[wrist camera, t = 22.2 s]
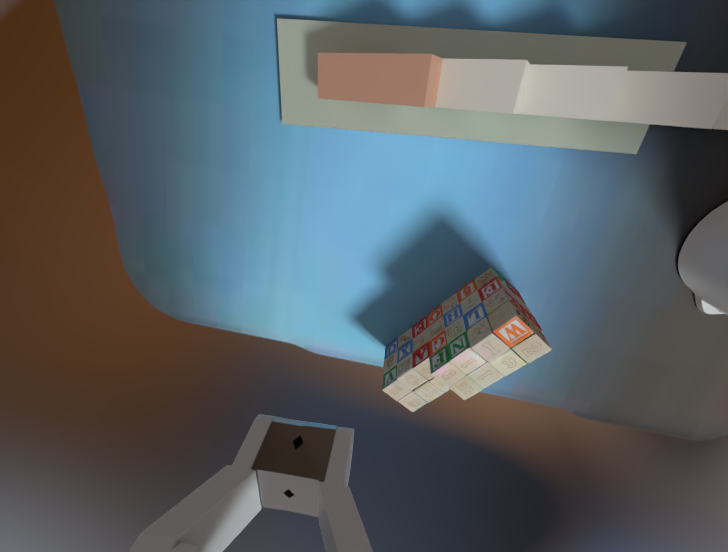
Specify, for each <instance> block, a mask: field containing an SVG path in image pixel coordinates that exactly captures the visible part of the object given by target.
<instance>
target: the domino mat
mask: <svg viewBox="0 0 728 552" xmlns="http://www.w3.org/2000/svg"><path fill="white" fill-rule="evenodd" d="M277 30H278V50H279V70H280V90H281V110H282V124H288V125H300V126H312V127H323V128H335V129H347V130H359V131H370V132H382V133H394V134H406V135H417V136H429V137H441V138H453V139H464V140H476V141H488V142H500V143H511V144H523V145H535V146H547V147H558V148H570V149H582V150H594V151H605V152H617V153H629V154H637V152H638V150H639V148H640V145H641V143H642V141H643V139H644V137H645V134H646V132H647V130H648V128H649V125H650V124H641V123H628V122H616V121H600V120H588V119H575V118H563V117H550V116H538V115H525V114H511V113H498V112H486V111H473V110H461V109H448V108H436V107H435V108H432V107H418V106H406V105H393V104H381V103H369V102H357V101H344V100H332V99H320V98H318V53H399V54H433V55H436V56H438V57H440V58H443V59H507V60H527V61H528V62H529V63H530V64H535V65H579V66H624V67H628V69H627V71H661V72H674V70H675V68H676V66H677V63H678V61H679V59H680V57H681V54H682V52H683V50H684V48H685V46H686V43H687V42H675V41H658V40H641V39H623V38H606V37H589V36H572V35H554V34H537V33H520V32H503V31H485V30H468V29H451V28H434V27H416V26H399V25H382V24H365V23H347V22H330V21H313V20H296V19H278V18H277Z"/></svg>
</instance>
